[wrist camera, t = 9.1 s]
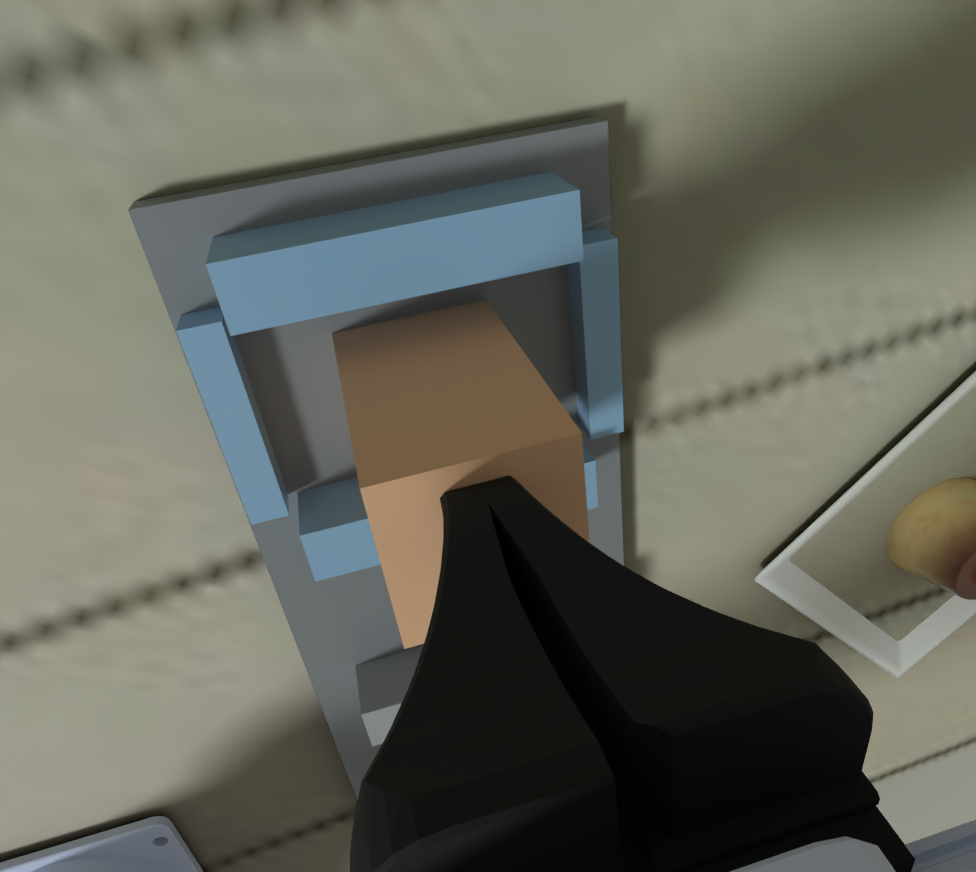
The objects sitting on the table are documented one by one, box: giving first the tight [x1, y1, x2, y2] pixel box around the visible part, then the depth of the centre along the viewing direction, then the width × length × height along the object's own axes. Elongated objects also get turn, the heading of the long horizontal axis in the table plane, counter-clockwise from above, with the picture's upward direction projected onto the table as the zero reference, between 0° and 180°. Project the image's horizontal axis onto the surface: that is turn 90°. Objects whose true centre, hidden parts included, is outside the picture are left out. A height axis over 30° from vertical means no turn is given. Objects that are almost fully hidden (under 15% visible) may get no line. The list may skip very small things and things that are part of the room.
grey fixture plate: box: [128, 116, 624, 801], centre depth 23 cm, size 25×11×3 cm, turn 8°
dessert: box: [755, 371, 976, 678], centre depth 28 cm, size 12×12×5 cm
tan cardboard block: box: [332, 300, 590, 649], centre depth 17 cm, size 4×4×7 cm
